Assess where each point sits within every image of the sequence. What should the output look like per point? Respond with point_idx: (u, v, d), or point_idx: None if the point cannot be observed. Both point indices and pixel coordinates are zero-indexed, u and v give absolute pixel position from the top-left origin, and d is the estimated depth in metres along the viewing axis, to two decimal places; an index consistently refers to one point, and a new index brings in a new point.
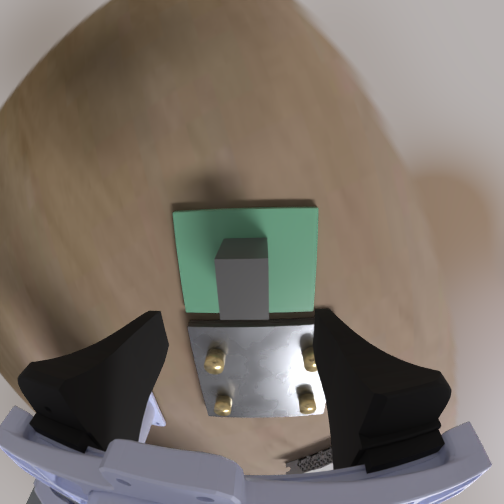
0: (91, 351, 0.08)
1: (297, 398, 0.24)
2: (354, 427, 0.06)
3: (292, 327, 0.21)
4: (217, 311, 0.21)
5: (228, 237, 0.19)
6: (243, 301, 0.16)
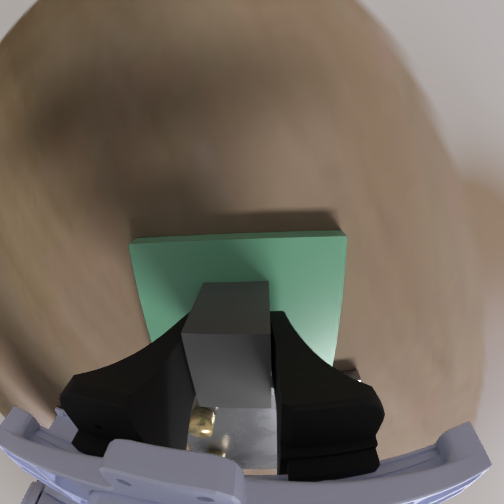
0: (141, 358, 0.08)
1: None
2: (280, 435, 0.06)
3: None
4: None
5: (210, 281, 0.13)
6: (231, 388, 0.10)
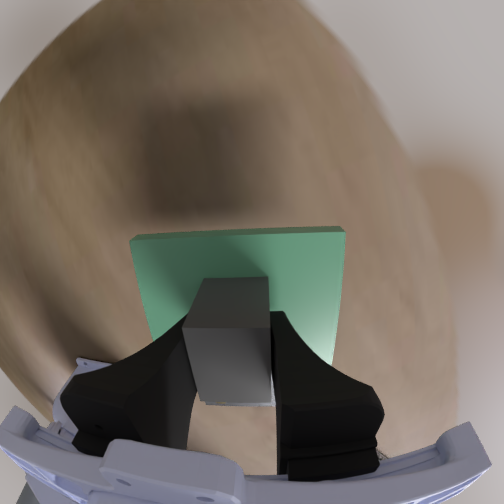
0: (141, 359, 0.08)
1: None
2: (279, 435, 0.06)
3: None
4: None
5: (210, 276, 0.13)
6: (232, 382, 0.10)
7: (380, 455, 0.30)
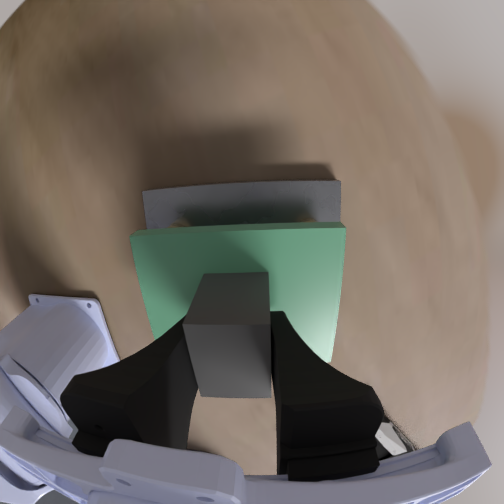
0: (141, 358, 0.08)
1: None
2: (279, 435, 0.06)
3: (278, 184, 0.16)
4: None
5: (210, 272, 0.13)
6: (232, 378, 0.10)
7: (402, 435, 0.25)
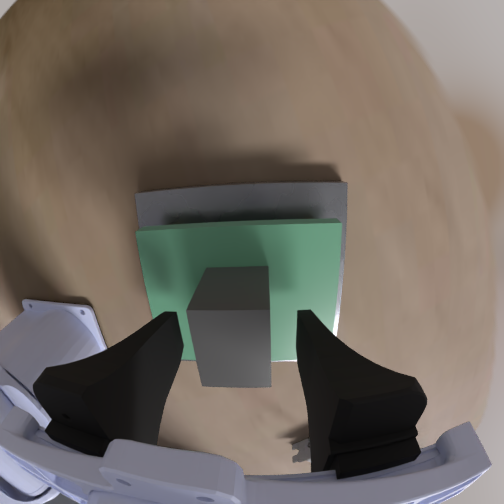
0: (110, 355, 0.08)
1: None
2: (325, 431, 0.06)
3: (280, 186, 0.14)
4: None
5: (213, 266, 0.13)
6: (233, 366, 0.10)
7: None
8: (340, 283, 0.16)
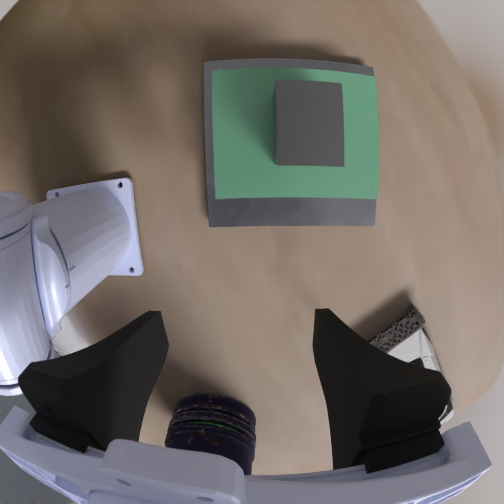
0: (91, 352, 0.08)
1: None
2: (354, 427, 0.06)
3: (324, 63, 0.15)
4: (258, 195, 0.16)
5: None
6: (311, 136, 0.11)
7: None
8: None
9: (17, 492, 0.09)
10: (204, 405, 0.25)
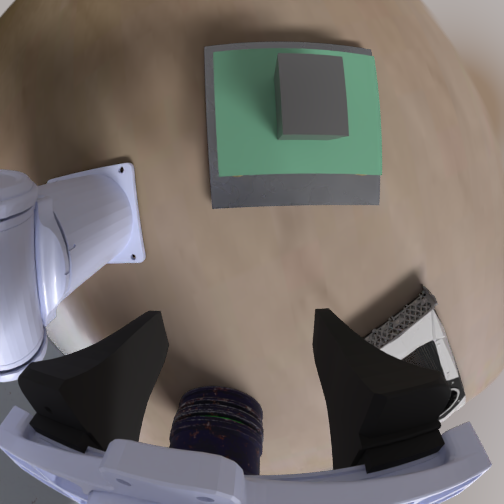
0: (91, 351, 0.08)
1: None
2: (354, 427, 0.06)
3: (323, 46, 0.15)
4: (262, 172, 0.16)
5: None
6: (315, 106, 0.11)
7: None
8: None
9: (16, 492, 0.09)
10: (209, 398, 0.24)
